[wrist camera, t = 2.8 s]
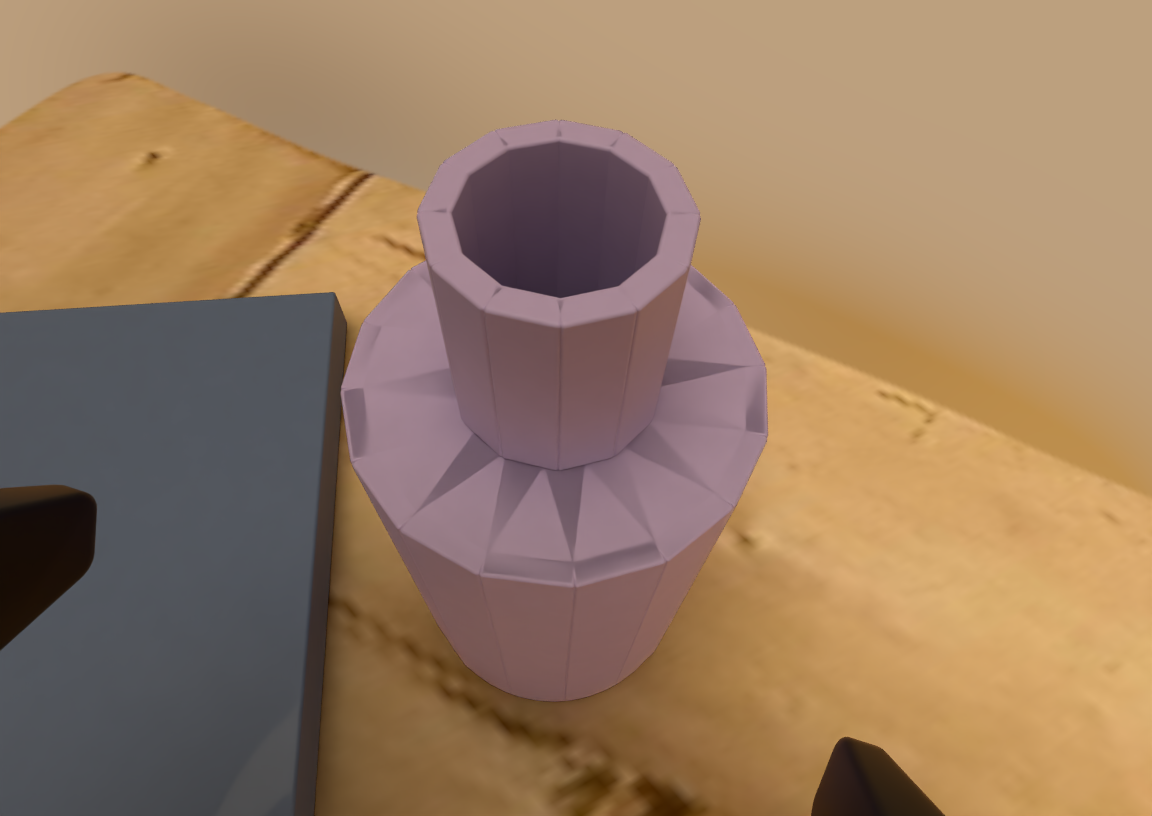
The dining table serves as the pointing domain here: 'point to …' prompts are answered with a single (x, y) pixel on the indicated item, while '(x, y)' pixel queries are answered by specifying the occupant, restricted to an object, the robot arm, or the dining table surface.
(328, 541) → the grey stepped slab
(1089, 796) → the dining table surface
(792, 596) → the dining table surface
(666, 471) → the vase
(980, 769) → the dining table surface
